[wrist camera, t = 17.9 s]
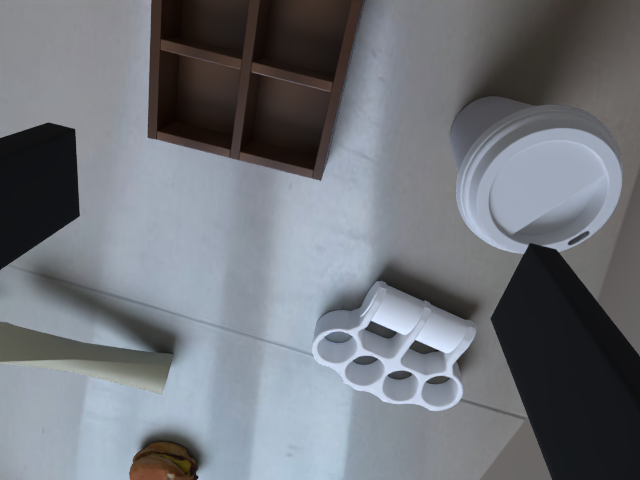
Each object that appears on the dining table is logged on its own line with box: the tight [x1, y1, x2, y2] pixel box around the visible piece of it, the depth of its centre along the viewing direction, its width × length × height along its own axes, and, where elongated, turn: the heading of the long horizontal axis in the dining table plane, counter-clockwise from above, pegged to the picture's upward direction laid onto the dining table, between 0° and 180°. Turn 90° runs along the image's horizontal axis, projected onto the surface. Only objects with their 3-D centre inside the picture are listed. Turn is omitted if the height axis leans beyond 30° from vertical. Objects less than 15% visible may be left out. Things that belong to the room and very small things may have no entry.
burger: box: [129, 441, 198, 480], centre depth 63 cm, size 10×9×5 cm
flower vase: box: [0, 322, 173, 394], centre depth 50 cm, size 12×12×35 cm
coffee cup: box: [450, 96, 623, 254], centre depth 32 cm, size 10×10×15 cm
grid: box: [148, 0, 365, 181], centre depth 34 cm, size 15×23×5 cm
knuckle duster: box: [312, 281, 477, 411], centre depth 49 cm, size 3×18×15 cm
